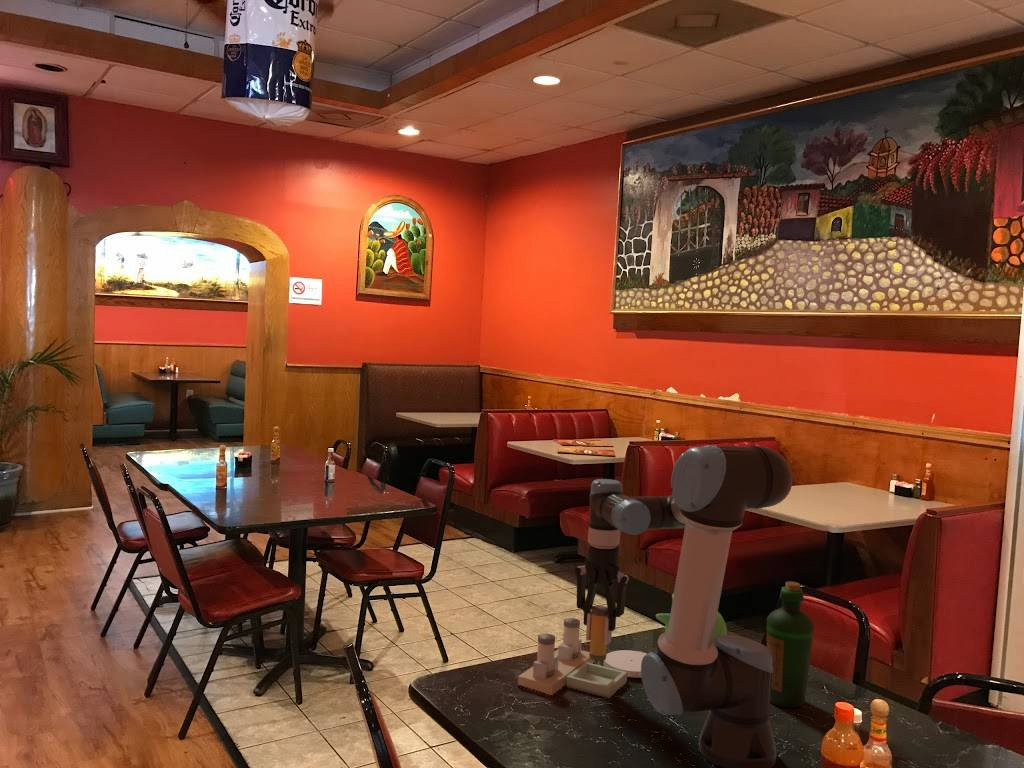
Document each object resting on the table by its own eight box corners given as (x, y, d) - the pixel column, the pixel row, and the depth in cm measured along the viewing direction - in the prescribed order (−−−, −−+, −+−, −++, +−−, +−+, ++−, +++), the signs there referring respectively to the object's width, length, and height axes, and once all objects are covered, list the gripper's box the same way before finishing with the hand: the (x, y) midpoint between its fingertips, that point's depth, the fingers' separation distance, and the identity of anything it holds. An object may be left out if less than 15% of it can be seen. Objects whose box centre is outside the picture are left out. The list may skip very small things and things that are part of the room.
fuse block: (551, 695, 195) (554, 647, 194) (517, 686, 199) (519, 638, 198) (594, 663, 215) (596, 618, 215) (562, 655, 220) (564, 611, 219)
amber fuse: (602, 662, 199) (604, 612, 198) (586, 658, 201) (589, 608, 200) (608, 656, 203) (611, 607, 202) (593, 653, 205) (595, 604, 204)
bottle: (767, 688, 204) (774, 574, 203) (813, 699, 199) (821, 582, 197) (756, 703, 195) (763, 584, 194) (803, 715, 190) (811, 593, 188)
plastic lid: (593, 663, 216) (593, 653, 216) (640, 657, 222) (640, 647, 222) (621, 684, 203) (621, 674, 203) (670, 677, 209) (670, 667, 209)
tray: (608, 698, 195) (609, 687, 194) (566, 686, 200) (566, 676, 200) (626, 682, 204) (627, 672, 204) (585, 671, 210) (585, 661, 209)
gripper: (643, 547, 199) (637, 644, 201) (577, 536, 208) (573, 629, 209) (631, 554, 193) (625, 654, 194) (564, 542, 201) (559, 637, 203)
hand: (598, 640), depth 202 cm, fingers closed on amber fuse, 4 cm apart
